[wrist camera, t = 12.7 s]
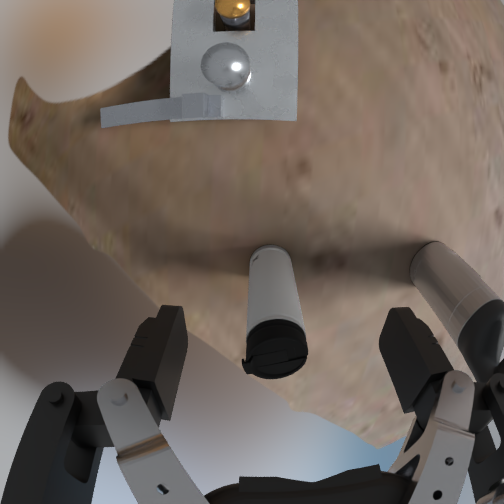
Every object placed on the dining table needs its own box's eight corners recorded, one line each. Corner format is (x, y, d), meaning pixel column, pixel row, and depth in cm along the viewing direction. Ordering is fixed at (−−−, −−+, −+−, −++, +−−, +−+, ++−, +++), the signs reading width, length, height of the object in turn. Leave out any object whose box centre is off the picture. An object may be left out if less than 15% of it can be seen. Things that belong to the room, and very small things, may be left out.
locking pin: (251, 18, 27) (250, -11, 18) (251, 39, 29) (249, 15, 20) (225, 18, 27) (215, -10, 18) (225, 40, 29) (214, 16, 20)
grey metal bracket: (291, 9, 26) (308, -38, 14) (290, 120, 34) (309, 122, 22) (131, 21, 27) (80, -8, 14) (129, 126, 34) (72, 136, 22)
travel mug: (243, 249, 43) (233, 348, 25) (286, 240, 42) (306, 336, 24) (252, 283, 45) (250, 387, 28) (293, 275, 45) (313, 377, 27)
